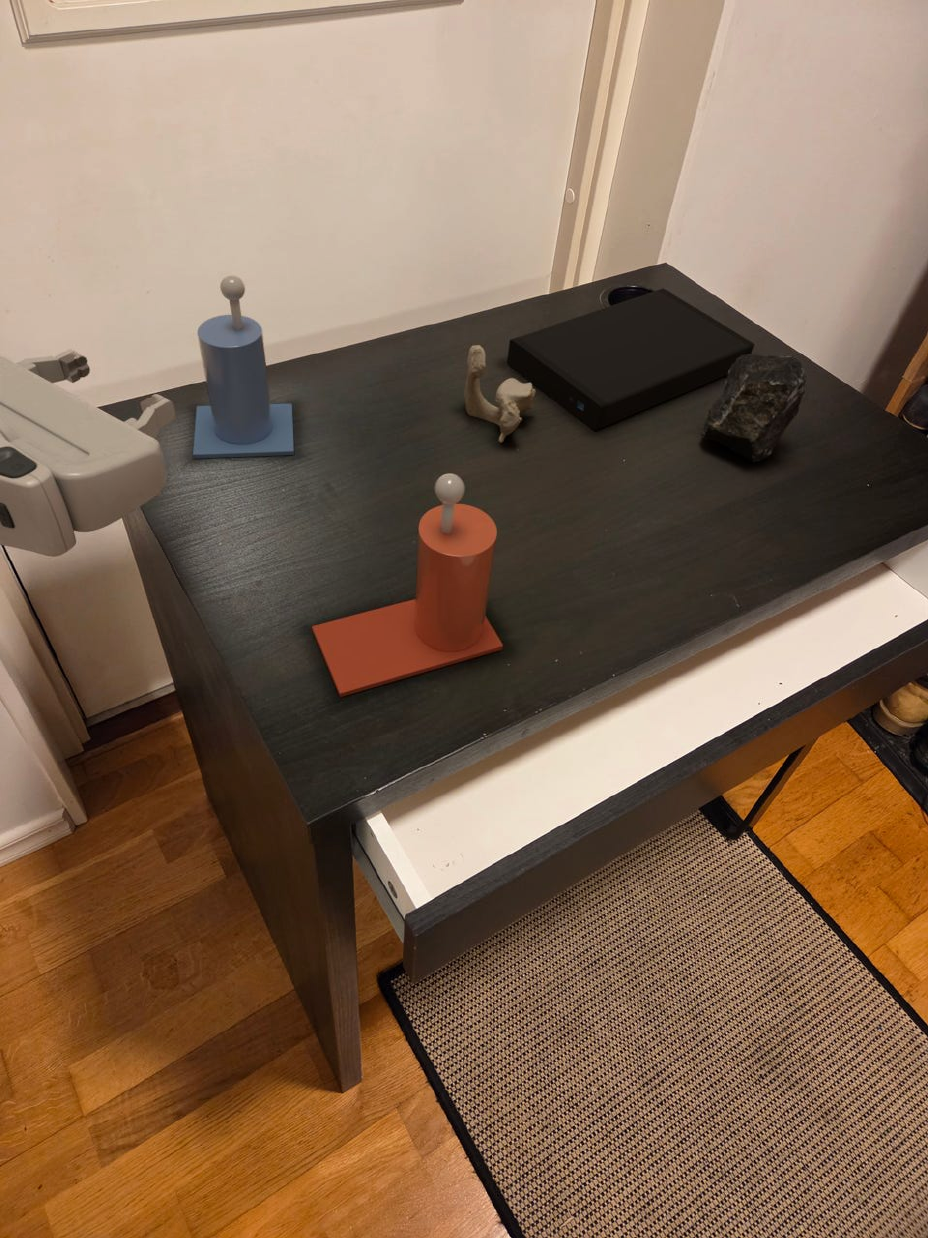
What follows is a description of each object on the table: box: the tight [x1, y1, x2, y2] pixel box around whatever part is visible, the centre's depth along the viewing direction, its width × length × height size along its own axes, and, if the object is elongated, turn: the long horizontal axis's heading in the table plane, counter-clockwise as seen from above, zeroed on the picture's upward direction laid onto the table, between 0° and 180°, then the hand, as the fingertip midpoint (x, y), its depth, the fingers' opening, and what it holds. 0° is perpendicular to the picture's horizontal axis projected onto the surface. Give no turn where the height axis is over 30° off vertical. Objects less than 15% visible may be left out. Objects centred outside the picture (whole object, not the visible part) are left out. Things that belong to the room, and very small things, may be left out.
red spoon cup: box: [414, 473, 498, 652], centre depth 61 cm, size 5×5×15 cm
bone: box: [463, 344, 537, 444], centre depth 82 cm, size 9×6×10 cm
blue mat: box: [192, 403, 295, 460], centre depth 81 cm, size 9×8×1 cm
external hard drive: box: [506, 288, 755, 431], centre depth 93 cm, size 14×23×3 cm, turn 127°
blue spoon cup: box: [197, 274, 273, 444], centre depth 75 cm, size 5×5×15 cm
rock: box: [700, 352, 807, 463], centre depth 82 cm, size 8×7×10 cm
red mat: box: [311, 598, 504, 698], centre depth 65 cm, size 13×7×1 cm, turn 114°
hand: (124, 382), depth 66 cm, fingers open, 8 cm apart
